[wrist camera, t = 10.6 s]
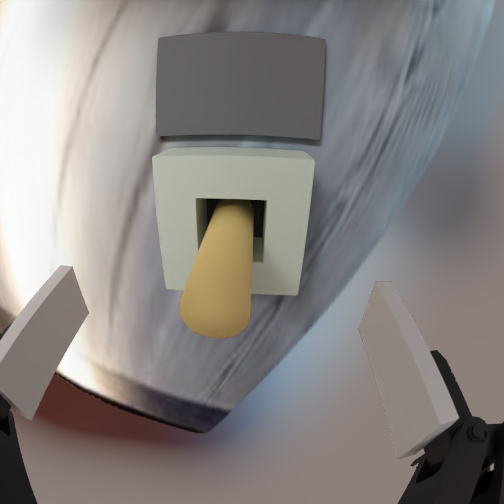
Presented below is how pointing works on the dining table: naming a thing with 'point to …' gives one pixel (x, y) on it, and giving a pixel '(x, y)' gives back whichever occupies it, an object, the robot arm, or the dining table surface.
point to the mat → (240, 84)
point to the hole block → (234, 187)
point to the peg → (222, 274)
